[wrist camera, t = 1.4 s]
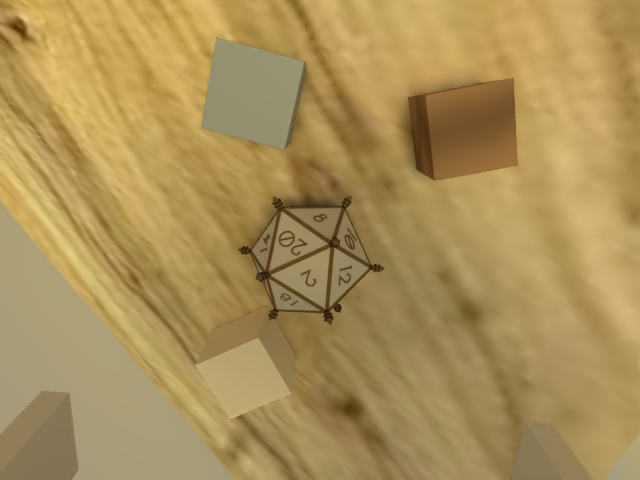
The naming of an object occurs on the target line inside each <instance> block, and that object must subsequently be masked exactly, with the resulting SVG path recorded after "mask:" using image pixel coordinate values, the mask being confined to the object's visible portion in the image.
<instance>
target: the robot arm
mask: <svg viewBox="0 0 640 480" xmlns="http://www.w3.org/2000/svg"><path fill="white" fill-rule="evenodd" d="M77 471H78V463H77V454H76V445H75V437H74V429H73V420H72V411H71V403H70V395H69V393H61V392H45V391H42V392H41V393H40V394H39V395H38V396H37V397H36V398H35V399H34V400H33V401H32V402H31V403H30V404H29V405H28V406H27V407H26V408H25V409H24V410H23V411H22V412H21V413H20V414H19V415H18V416H17V417H16V418H15V420H14V421H13V422H12V423H11V424H10V425H9V426H8V427H7V428H6V429H5V430H4V431H3V432H2V433H1V434H0V480H72V479H73V477H74V476H75V474H76V473H77ZM510 480H593V479H592V478H591V477H590V475H589V474H588V473H587V471H586V470H585V468H584V467H583V466H582V464H581V463H580V462H579V460H578V459H577V458H576V456H575V455H574V453H573V452H572V451H571V449H570V448H569V447H568V445H567V444H566V442H565V441H564V440H563V438H562V437H561V436H560V434H559V433H558V432H557V430H556V429H555V427H554V426H553V425H552V423H541V422H525V425H524V429H523V433H522V436H521V440H520V444H519V448H518V451H517V455H516V459H515V463H514V466H513V470H512V474H511V478H510Z"/></svg>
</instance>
